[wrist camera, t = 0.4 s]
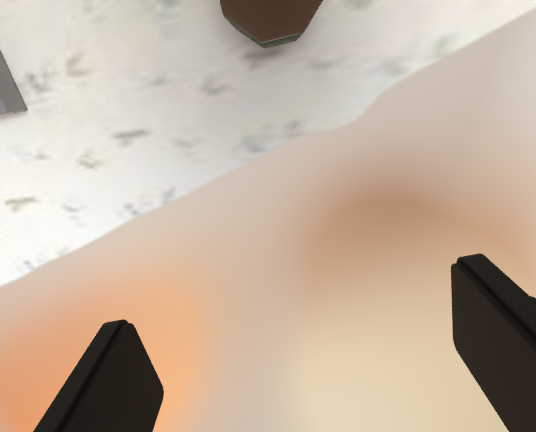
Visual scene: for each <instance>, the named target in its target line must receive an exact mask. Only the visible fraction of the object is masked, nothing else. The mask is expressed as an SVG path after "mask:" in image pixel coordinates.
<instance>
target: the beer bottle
mask: <svg viewBox="0 0 536 432" xmlns="http://www.w3.org/2000/svg"><path fill="white" fill-rule="evenodd" d="M322 1H323V0H220V4H221V8H222V12H223V15H224V17H225V18H226V19H227V20H228V21H229V22H230V23H231V24H232V25H233V26H234V27H235V28H236V29H237V30H239V31H240V32H241V33H243V34H244V35H246V36H247V37H248V38H250V39H251V40H253V41H254V42H256V43H257V44H258V45H260V46H261V47H263V48H268V47H272V46H276V45H280V44H284V43H288V42H292V41H296V40H297V39H298V38H299V37H300V36H301V35H302V34H303V33H304V31H305V29H306V28H307V26H308V24H309V23H310V21H311V19H312V18H313V16H314V14H315V13H316V11H317V9H318V8H319V6H320V4H321V3H322Z"/></svg>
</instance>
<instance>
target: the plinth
mask: <svg viewBox="0 0 536 432" xmlns="http://www.w3.org/2000/svg"><path fill="white" fill-rule="evenodd" d="M25 110H27V108H26V105H25V103H24V101H23V99H22V97H21V95H20V93H19V90H18V88H17V86H16V84H15V82H14V80H13V77H12V75H11V73H10V71H9V69H8V67H7V64H6V62H5V60H4V58H3V56H2V54H1V52H0V116H4V115H8V114H12V113H16V112H21V111H25Z"/></svg>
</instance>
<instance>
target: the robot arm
mask: <svg viewBox="0 0 536 432" xmlns="http://www.w3.org/2000/svg"><path fill="white" fill-rule="evenodd" d="M451 283H452V284H451V286H452V319H453V341H454V345H455V348H456V350H457V351H458V353H459V355H460V357H461V358H462V360H463V361H464V363H465V364H466V366H467V367H468V369H469V370H470V372H471V374H472V375H473V377H474V378H475V380H476V381H477V383H478V384H479V386H480V387H481V389H482V391H483V392H484V394H485V395H486V397H487V398H488V400H489V401H490V403H491V404H492V406H493V407H494V409H495V411H496V412H497V414H498V415H499V417H500V418H501V420H502V421H503V423H504V425H505V426H506V427H507V429H508V431H509V432H536V298H534V297H531V296H529V295H528V294H527V293H525V292H524V291H523V290H522V289H521V288H520V287H519V286H518V285H517V284H515V283H514V282H513V281H512V280H511V279H510V278H509V277H508V276H506V275H505V274H504V273H503V272H502V271H501V270H500V269H499V268H498V267H497V266H495V265H494V264H493V263H492V262H491V261H490V260H489V259H488V258H487V257H485V256H484V255H483V254H475V255H469V256H464V257H459V258H458V259H457V263H456V264H452V266H451ZM163 394H164V391H163V386H162V384H161V382H160V380H159V378H158V375H157V373H156V371H155V369H154V367H153V365H152V363H151V361H150V358H149V356H148V354H147V352H146V350H145V348H144V346H143V344H142V341H141V339H140V337H139V335H138V333H137V331H136V329H135V327H134V325H133V324H131V323H128V322H127V321H126V320H118V321H112V322H107V323H104V324H103V325H102V327H101V328H100V330H99V331H98V333H97V334H96V336H95V337H94V339H93V340H92V342H91V343H90V345H89V347H88V348H87V350H86V351H85V353H84V354H83V356H82V357H81V359H80V360H79V362H78V364H77V365H76V367H75V368H74V370H73V371H72V373H71V375H70V376H69V377H68V379H67V380H66V382H65V384H64V385H63V387H62V388H61V390H60V391H59V393H58V394H57V396H56V397H55V399H54V401H53V402H52V404H51V405H50V407H49V408H48V410H47V411H46V413H45V414H44V416H43V418H42V419H41V420H40V422H39V424H38V425H37V427H36V428H35V430H34V431H33V432H152V431H153V428H154V425H155V422H156V419H157V416H158V413H159V410H160V407H161V404H162V401H163Z"/></svg>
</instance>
